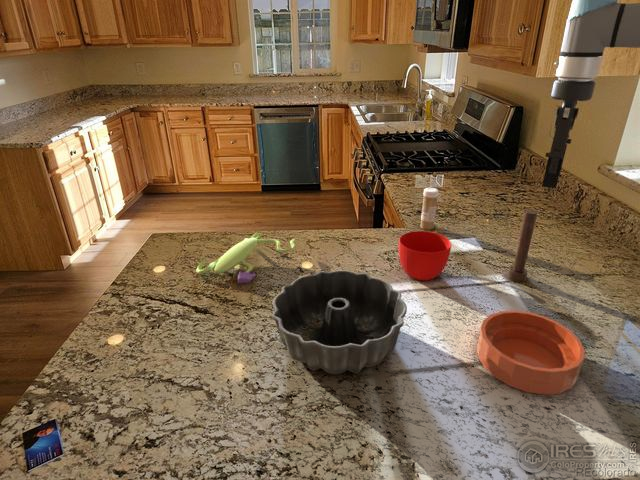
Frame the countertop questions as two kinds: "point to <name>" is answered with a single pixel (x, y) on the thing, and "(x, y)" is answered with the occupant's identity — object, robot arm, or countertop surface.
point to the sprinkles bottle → (429, 208)
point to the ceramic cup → (423, 254)
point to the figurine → (240, 258)
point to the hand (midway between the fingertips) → (551, 178)
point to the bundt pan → (339, 320)
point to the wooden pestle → (523, 248)
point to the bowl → (530, 352)
